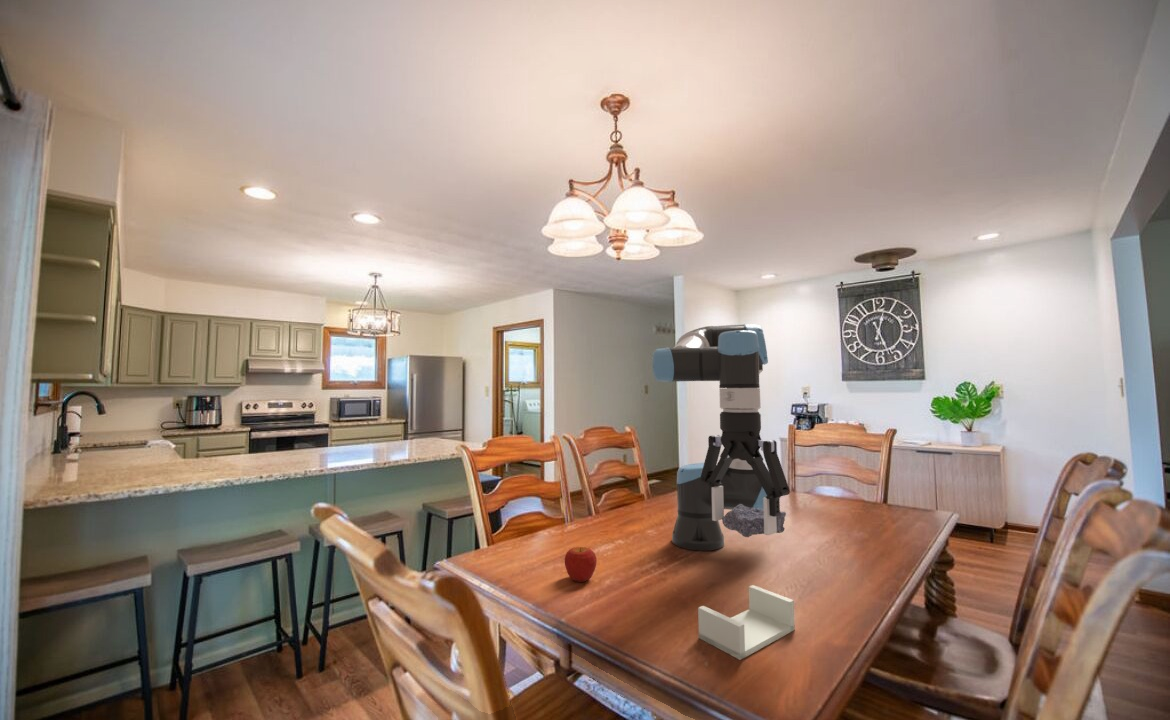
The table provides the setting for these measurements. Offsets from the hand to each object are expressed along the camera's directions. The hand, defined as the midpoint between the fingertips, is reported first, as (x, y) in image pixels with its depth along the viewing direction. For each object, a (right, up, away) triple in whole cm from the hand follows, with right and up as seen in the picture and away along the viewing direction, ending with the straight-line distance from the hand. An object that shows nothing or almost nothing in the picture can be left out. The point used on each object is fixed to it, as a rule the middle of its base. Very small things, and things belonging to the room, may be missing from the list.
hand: (743, 526), depth 91 cm
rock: (+1, -1, +1) cm, 2 cm away
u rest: (0, -20, -1) cm, 20 cm away
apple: (-31, -22, +25) cm, 46 cm away
